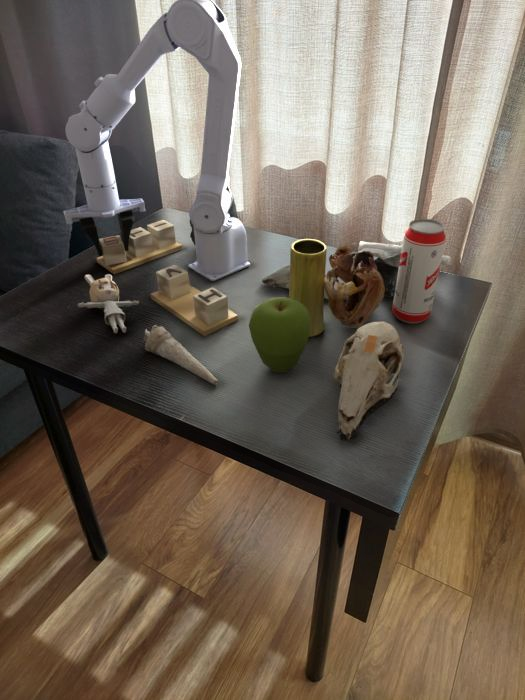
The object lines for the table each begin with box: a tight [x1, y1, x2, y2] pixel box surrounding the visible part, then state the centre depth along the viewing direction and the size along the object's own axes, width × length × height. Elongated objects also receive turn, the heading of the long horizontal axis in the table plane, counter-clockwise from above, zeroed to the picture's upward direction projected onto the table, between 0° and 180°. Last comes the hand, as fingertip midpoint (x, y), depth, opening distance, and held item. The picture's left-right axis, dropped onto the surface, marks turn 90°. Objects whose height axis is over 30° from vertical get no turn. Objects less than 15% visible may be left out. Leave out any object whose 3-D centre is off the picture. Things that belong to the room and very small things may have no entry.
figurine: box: [357, 239, 453, 268], centre depth 101 cm, size 7×4×18 cm
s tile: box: [98, 234, 127, 266], centre depth 102 cm, size 4×4×4 cm
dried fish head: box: [325, 242, 385, 329], centre depth 86 cm, size 21×9×10 cm, turn 169°
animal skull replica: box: [333, 320, 404, 441], centre depth 68 cm, size 8×17×10 cm, turn 154°
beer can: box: [391, 218, 447, 325], centre depth 83 cm, size 6×6×16 cm
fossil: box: [261, 264, 348, 300], centre depth 95 cm, size 11×5×15 cm
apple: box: [248, 296, 311, 374], centre depth 74 cm, size 9×8×12 cm
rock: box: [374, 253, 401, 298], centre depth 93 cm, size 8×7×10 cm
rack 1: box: [96, 219, 183, 275], centre depth 106 cm, size 16×7×5 cm, turn 132°
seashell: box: [143, 324, 219, 386], centre depth 78 cm, size 4×7×15 cm
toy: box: [77, 273, 140, 334], centre depth 89 cm, size 10×5×15 cm
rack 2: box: [150, 264, 239, 337], centre depth 89 cm, size 16×7×5 cm, turn 42°
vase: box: [288, 238, 327, 338], centre depth 81 cm, size 6×6×14 cm
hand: (113, 251), depth 103 cm, fingers open, 4 cm apart
